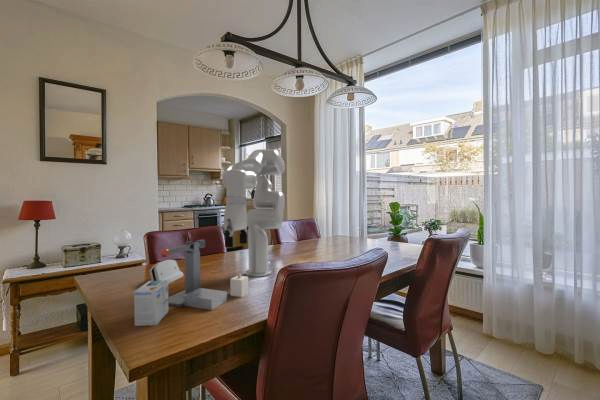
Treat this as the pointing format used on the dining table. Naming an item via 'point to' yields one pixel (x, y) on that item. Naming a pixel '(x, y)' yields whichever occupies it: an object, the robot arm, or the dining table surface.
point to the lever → (180, 248)
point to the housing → (239, 286)
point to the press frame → (196, 286)
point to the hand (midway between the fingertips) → (236, 245)
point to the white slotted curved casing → (165, 271)
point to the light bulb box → (151, 303)
